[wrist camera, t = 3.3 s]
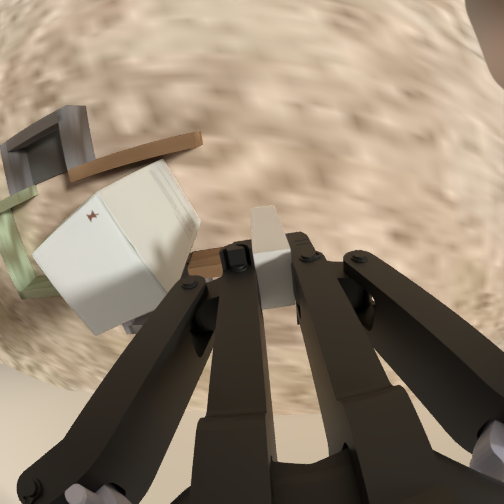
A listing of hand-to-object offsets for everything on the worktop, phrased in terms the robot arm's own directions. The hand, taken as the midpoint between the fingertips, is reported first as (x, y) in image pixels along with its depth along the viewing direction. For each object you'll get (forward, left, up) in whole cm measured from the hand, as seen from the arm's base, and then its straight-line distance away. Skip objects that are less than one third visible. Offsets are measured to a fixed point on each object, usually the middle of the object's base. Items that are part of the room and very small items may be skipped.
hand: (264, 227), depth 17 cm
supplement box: (0, -10, -9) cm, 13 cm away
